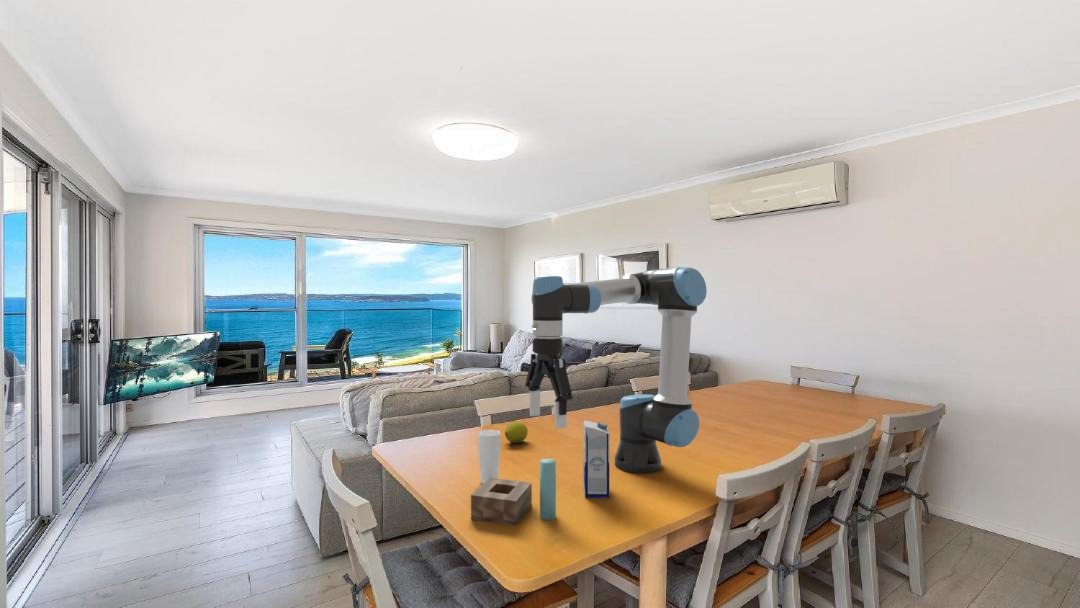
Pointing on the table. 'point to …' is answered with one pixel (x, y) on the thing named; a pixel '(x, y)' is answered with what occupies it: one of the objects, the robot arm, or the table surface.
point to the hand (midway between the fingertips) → (547, 421)
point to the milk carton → (596, 460)
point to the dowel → (547, 489)
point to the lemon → (516, 432)
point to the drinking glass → (489, 454)
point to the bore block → (501, 501)
